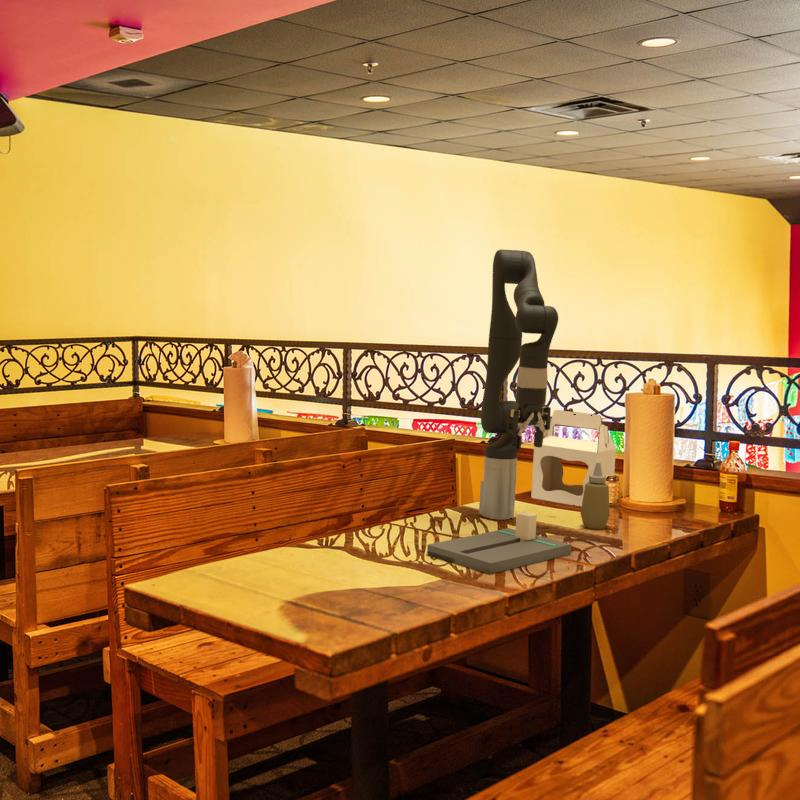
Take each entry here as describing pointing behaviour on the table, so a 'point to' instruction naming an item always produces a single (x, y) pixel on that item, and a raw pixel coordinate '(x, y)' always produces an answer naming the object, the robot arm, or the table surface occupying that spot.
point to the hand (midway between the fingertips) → (527, 448)
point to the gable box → (570, 458)
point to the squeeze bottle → (595, 501)
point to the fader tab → (525, 526)
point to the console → (497, 551)
